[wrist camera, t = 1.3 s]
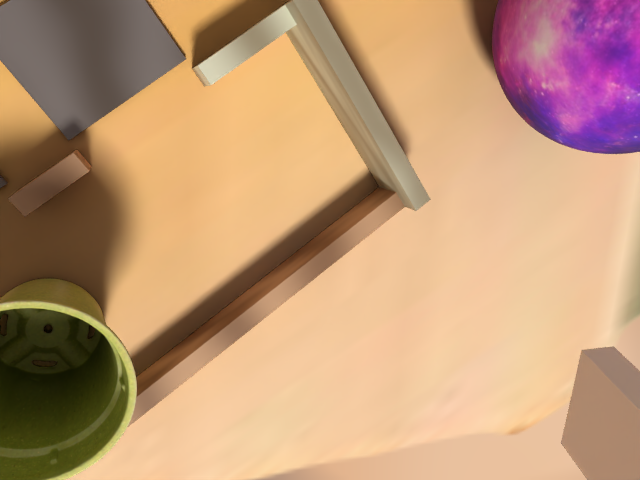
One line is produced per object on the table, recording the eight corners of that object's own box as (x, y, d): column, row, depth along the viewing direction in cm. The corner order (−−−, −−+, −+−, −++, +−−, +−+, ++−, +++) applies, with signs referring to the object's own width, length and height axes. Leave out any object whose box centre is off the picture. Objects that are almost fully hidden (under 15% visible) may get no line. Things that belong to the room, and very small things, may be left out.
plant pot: (125, 397, 35) (127, 483, 27) (-47, 401, 31) (-103, 502, 23) (139, 257, 33) (146, 305, 25) (-41, 245, 29) (-100, 296, 22)
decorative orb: (489, -117, 35) (726, -257, 21) (641, -23, 41) (903, -86, 27) (417, 109, 37) (592, 112, 23) (572, 168, 43) (784, 198, 29)
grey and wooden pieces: (50, 466, 34) (41, 510, 30) (-285, 190, 25) (-352, 205, 22) (400, 190, 38) (430, 199, 34) (213, -129, 29) (226, -162, 26)
